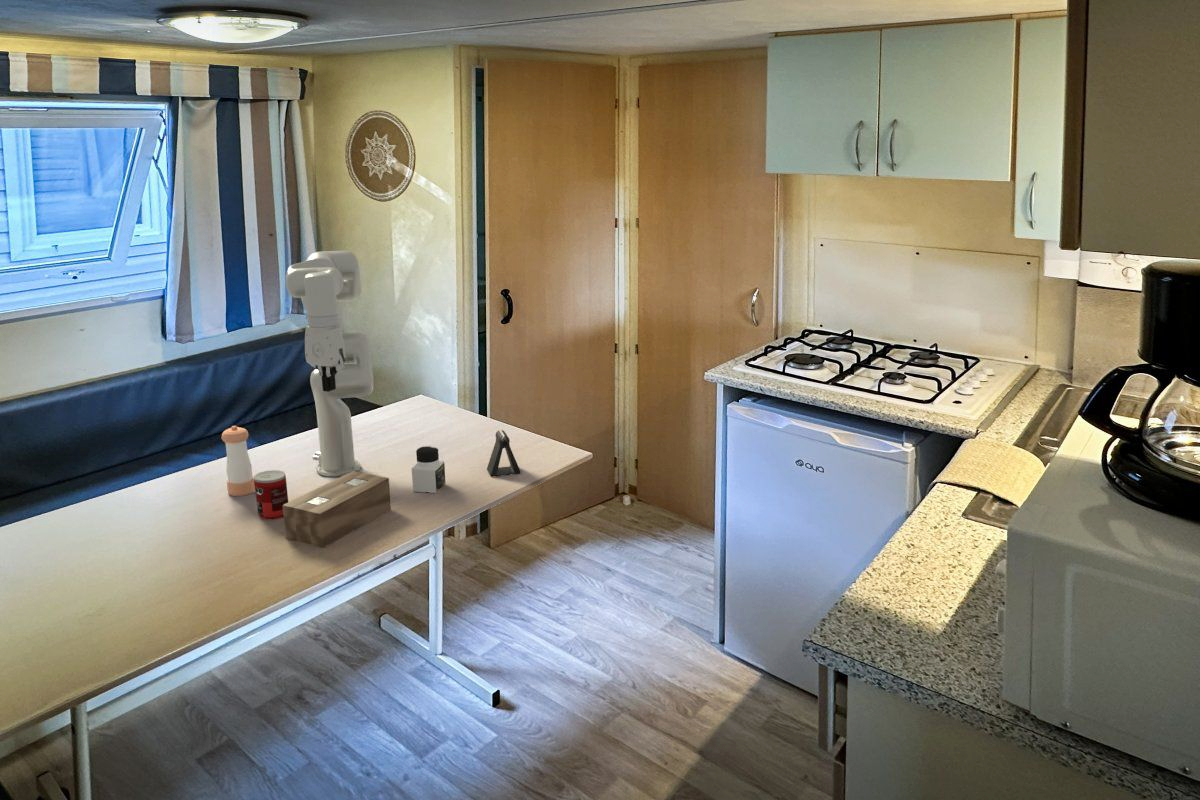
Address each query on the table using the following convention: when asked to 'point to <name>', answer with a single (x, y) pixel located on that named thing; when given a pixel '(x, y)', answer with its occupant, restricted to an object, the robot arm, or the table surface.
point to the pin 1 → (318, 501)
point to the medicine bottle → (428, 471)
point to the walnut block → (336, 509)
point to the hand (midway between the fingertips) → (329, 390)
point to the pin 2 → (356, 482)
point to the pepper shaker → (238, 462)
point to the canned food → (270, 493)
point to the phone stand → (496, 457)
